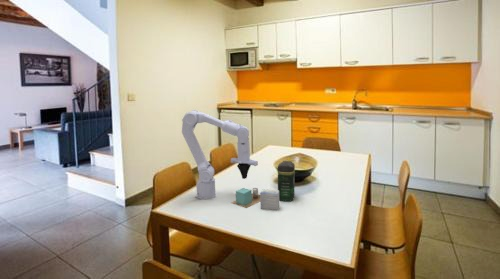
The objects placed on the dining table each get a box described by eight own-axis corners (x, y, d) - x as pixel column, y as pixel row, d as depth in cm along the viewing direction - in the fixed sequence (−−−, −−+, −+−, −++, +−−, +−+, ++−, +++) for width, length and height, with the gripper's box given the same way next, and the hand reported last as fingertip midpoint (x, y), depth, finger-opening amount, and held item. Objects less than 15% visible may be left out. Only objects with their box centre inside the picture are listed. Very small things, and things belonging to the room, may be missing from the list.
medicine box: (279, 208, 136) (279, 189, 134) (277, 212, 132) (277, 193, 130) (262, 206, 138) (262, 188, 136) (260, 210, 134) (260, 192, 132)
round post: (251, 197, 147) (251, 189, 146) (255, 196, 149) (255, 187, 148) (255, 199, 145) (255, 190, 144) (259, 197, 147) (259, 188, 146)
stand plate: (230, 204, 142) (230, 202, 141) (253, 194, 153) (253, 193, 153) (246, 209, 135) (246, 208, 135) (268, 199, 147) (268, 197, 146)
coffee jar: (293, 203, 140) (293, 165, 137) (276, 202, 142) (275, 164, 139) (295, 196, 149) (295, 160, 146) (280, 195, 151) (279, 159, 148)
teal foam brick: (236, 203, 141) (235, 191, 140) (243, 199, 145) (243, 187, 143) (244, 205, 137) (243, 193, 136) (251, 202, 141) (251, 190, 140)
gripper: (226, 151, 146) (227, 178, 149) (251, 154, 138) (252, 182, 141) (234, 148, 152) (235, 174, 154) (259, 151, 144) (260, 178, 147)
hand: (244, 178), depth 148 cm, fingers closed
